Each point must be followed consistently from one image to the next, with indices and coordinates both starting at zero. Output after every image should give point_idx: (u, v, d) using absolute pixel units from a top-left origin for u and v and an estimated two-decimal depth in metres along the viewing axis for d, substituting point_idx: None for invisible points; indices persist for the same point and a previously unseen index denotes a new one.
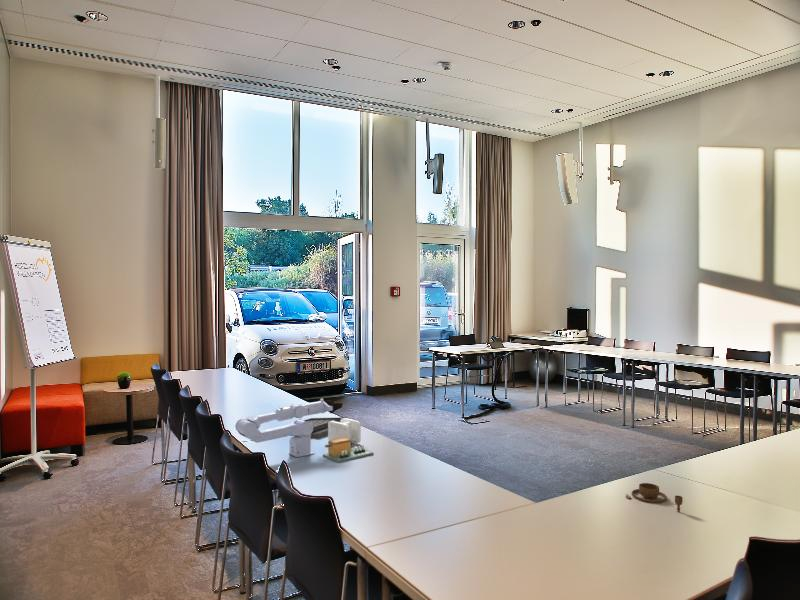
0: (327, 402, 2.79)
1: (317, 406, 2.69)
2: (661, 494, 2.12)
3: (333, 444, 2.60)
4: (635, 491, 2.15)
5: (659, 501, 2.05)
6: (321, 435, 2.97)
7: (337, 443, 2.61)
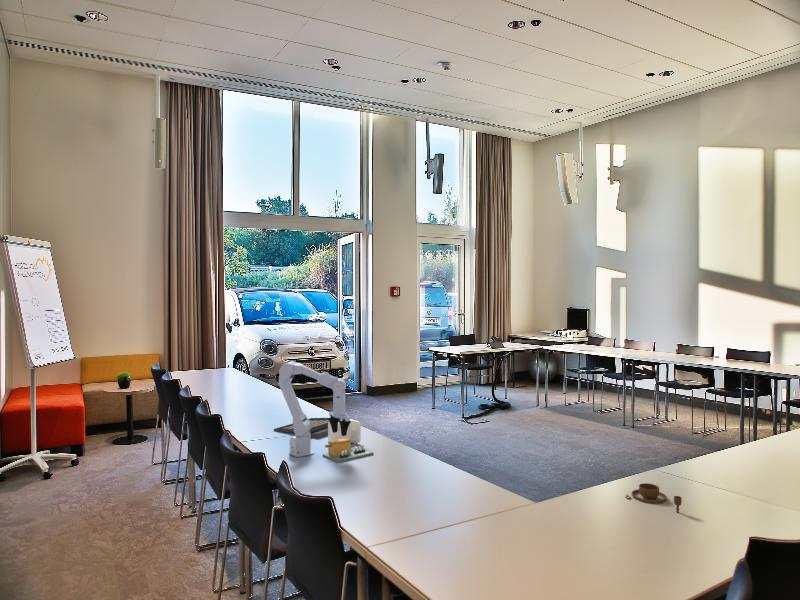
0: (336, 424, 2.68)
1: (344, 407, 2.63)
2: (661, 494, 2.12)
3: (333, 444, 2.60)
4: (635, 491, 2.15)
5: (659, 501, 2.04)
6: (321, 435, 2.97)
7: (337, 443, 2.61)
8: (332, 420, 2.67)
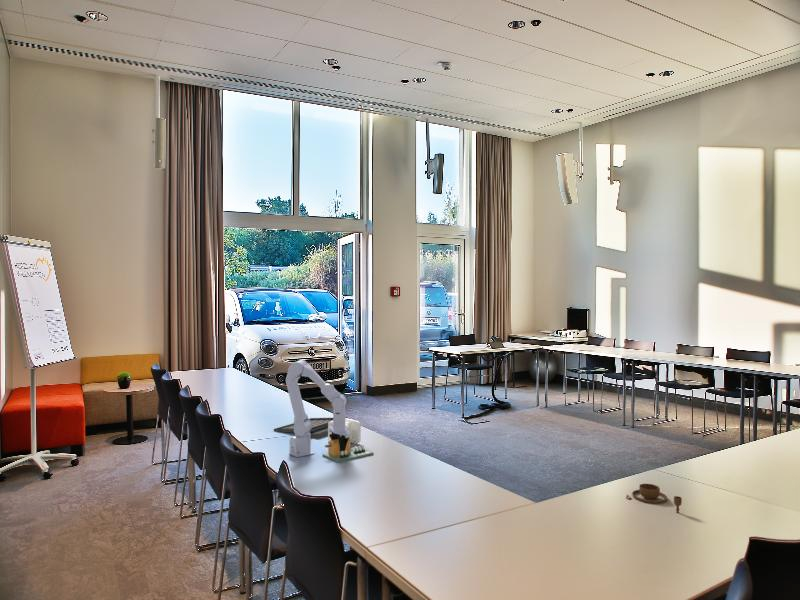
0: None
1: (344, 423, 2.63)
2: (662, 495, 2.11)
3: (333, 444, 2.60)
4: (636, 492, 2.15)
5: (659, 502, 2.04)
6: (321, 435, 2.97)
7: (337, 443, 2.61)
8: (333, 436, 2.66)
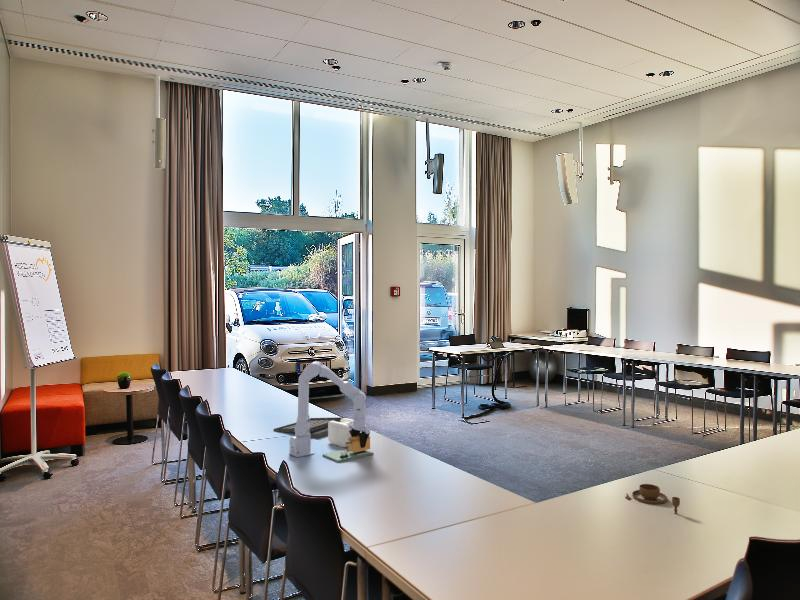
0: None
1: (364, 419, 2.65)
2: (663, 495, 2.10)
3: (353, 441, 2.62)
4: (636, 492, 2.14)
5: (658, 502, 2.04)
6: (321, 435, 2.97)
7: (357, 440, 2.62)
8: (353, 433, 2.67)
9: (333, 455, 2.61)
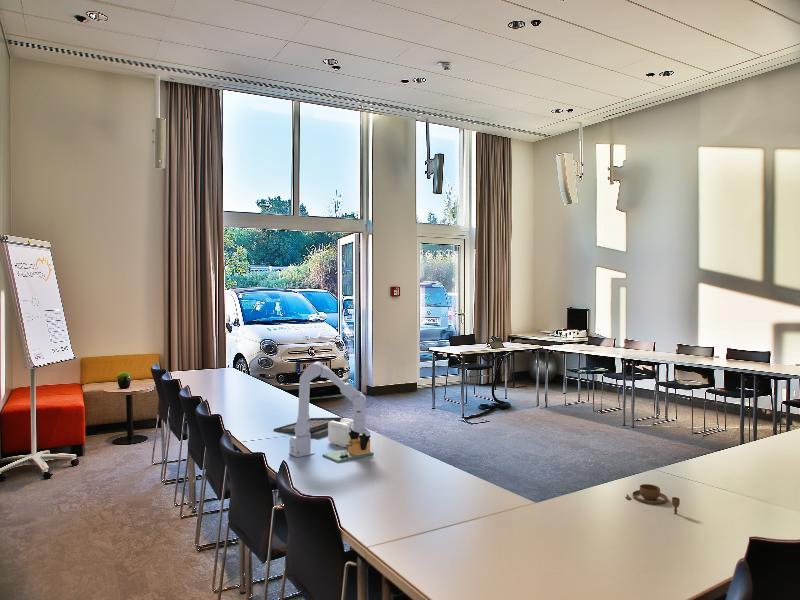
0: None
1: (364, 421, 2.65)
2: (663, 496, 2.10)
3: (353, 443, 2.62)
4: (637, 492, 2.14)
5: (658, 502, 2.03)
6: (321, 435, 2.97)
7: (357, 442, 2.62)
8: (352, 434, 2.68)
9: (333, 455, 2.61)
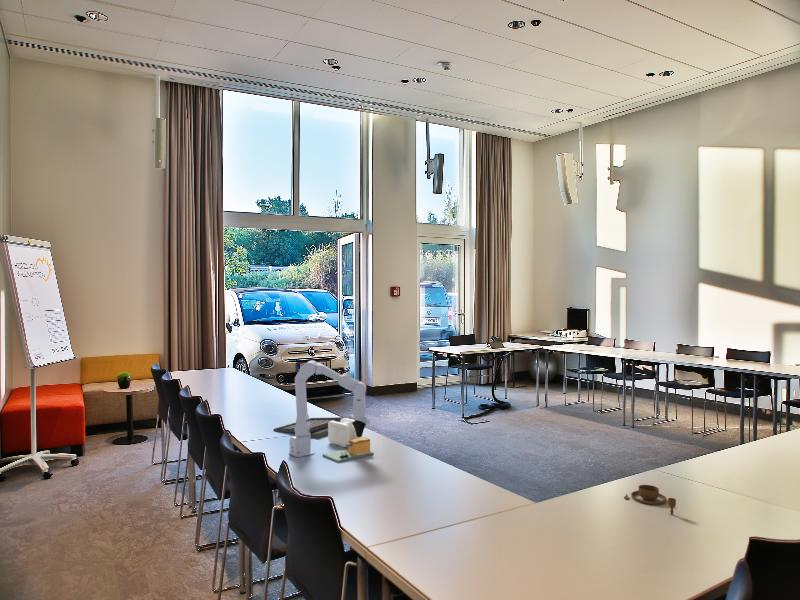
0: None
1: (364, 410, 2.64)
2: (662, 497, 2.09)
3: (353, 443, 2.62)
4: (636, 492, 2.14)
5: (656, 503, 2.03)
6: (321, 435, 2.97)
7: (357, 442, 2.62)
8: None
9: (333, 455, 2.61)
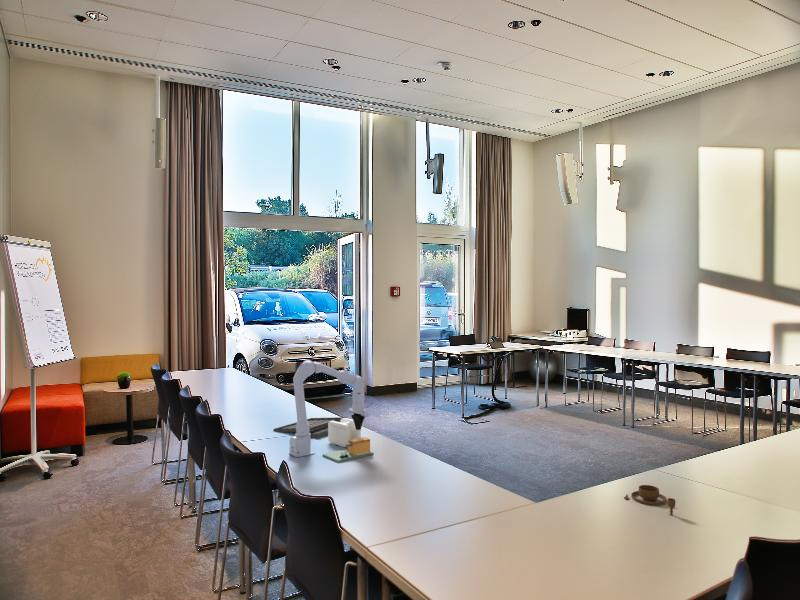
0: None
1: (363, 403, 2.70)
2: (663, 497, 2.09)
3: (353, 443, 2.62)
4: (637, 492, 2.13)
5: (656, 503, 2.02)
6: (321, 435, 2.97)
7: (357, 442, 2.62)
8: None
9: (333, 455, 2.61)
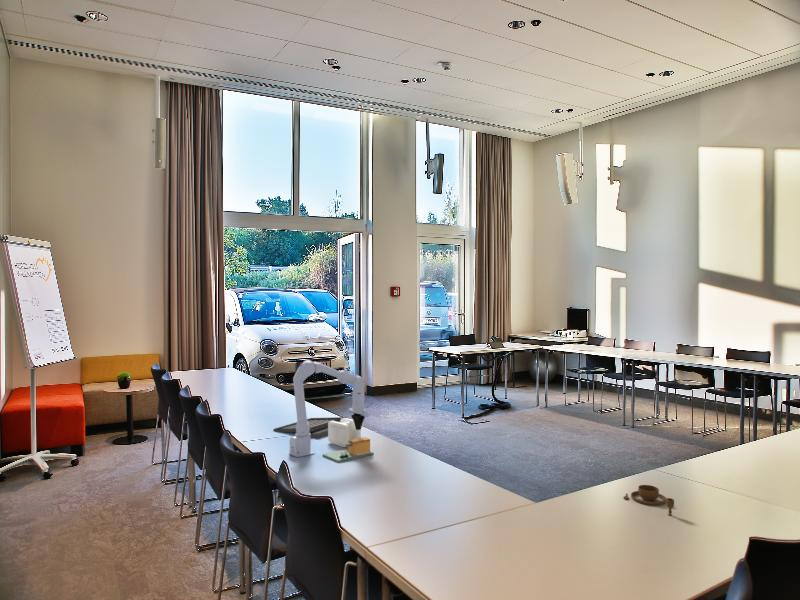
0: None
1: (363, 403, 2.70)
2: (663, 497, 2.08)
3: (353, 443, 2.62)
4: (636, 492, 2.13)
5: (655, 503, 2.02)
6: (321, 435, 2.97)
7: (357, 442, 2.62)
8: None
9: (333, 455, 2.61)
